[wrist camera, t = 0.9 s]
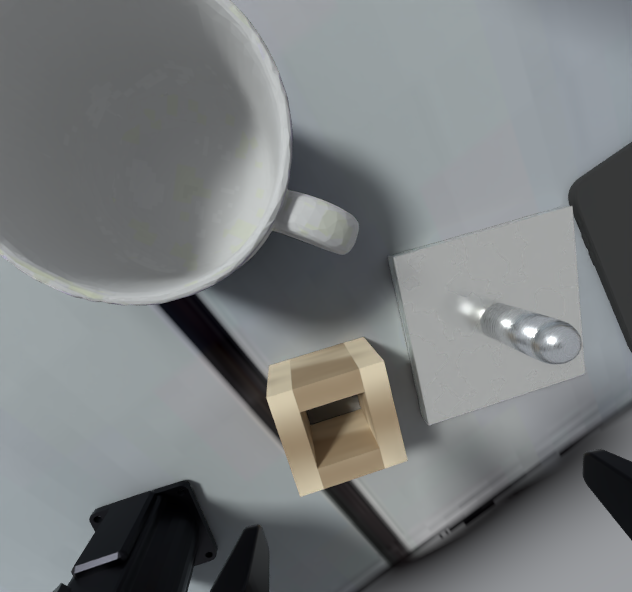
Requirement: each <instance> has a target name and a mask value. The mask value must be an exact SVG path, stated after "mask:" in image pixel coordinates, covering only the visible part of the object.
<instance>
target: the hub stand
mask: <svg viewBox="0 0 632 592" xmlns="http://www.w3.org/2000/svg"><path fill="white" fill-rule="evenodd" d="M388 262H389V266H390V271H391V276H392V280H393V285H394V290H395V294H396V299H397V303H398V308H399V313H400V317H401V322H402V326H403V331H404V336H405V340H406V345H407V350H408V354H409V359H410V363H411V368H412V373H413V377H414V382H415V387H416V391H417V396H418V400H419V405H420V410H421V414H422V418H423V419H424V420H425V421H426V423H427V424H428V425H432V424H435V423H438V422H441V421H444V420H447V419H450V418H453V417H456V416H459V415H462V414H466V413H469V412H472V411H475V410H478V409H481V408H484V407H487V406H490V405H493V404H496V403H499V402H502V401H505V400H508V399H511V398H514V397H517V396H520V395H523V394H526V393H529V392H532V391H535V390H538V389H541V388H544V387H547V386H550V385H553V384H557V383H560V382H563V381H566V380H569V379H572V378H575V377H578V376H581V375H584V374H585V367H584V353H583V340H582V327H581V313H580V300H579V287H578V274H577V260H576V247H575V234H574V220H573V207H572V206H566V207H557V208H554V209H551V210H547V211H544V212H540V213H537V214H533V215H530V216H526V217H523V218H519V219H516V220H512V221H509V222H505V223H502V224H499V225H495V226H492V227H488V228H485V229H481V230H478V231H474V232H471V233H467V234H464V235H460V236H457V237H454V238H450V239H447V240H443V241H440V242H436V243H433V244H429V245H426V246H422V247H419V248H415V249H412V250H408V251H405V252H402V253H398V254H395V255H391V256H388Z"/></svg>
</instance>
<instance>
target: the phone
mask: <svg viewBox="0 0 632 592" xmlns="http://www.w3.org/2000/svg"><path fill="white" fill-rule="evenodd" d="M568 200H569V205H570V206H572V207H573V215H574V217H575V220H576V222H577V225H578V227H579V229H580V232H581V234H582V238H583V240H584V243H585V245H586V247H587V249H588V251H589V255H590V258H591V260H592V263H593V264H594V265H595V268H596V270H597V273H598V275H599V277H600V280H601V282H602V285H603V287H604V289H605V292H606V294H607V297H608V299H609V301H610V304H611V306H612V309H613V311H614V314H615V316H616V318H617V321H618V323H619V326H620V328H621V330H622V333H623V335H624V338H625V340H626V342H627V345H628V347H629V349H630V351H631V352H632V142H631V143H630V144H628V145H627V146H625V147H624V148H622V149H621V150H619V151H618V152H616V153H615V154H614V155H612V156H611V157H609V158H608V159H606V160H605V161H603V162H602V163H600V164H599V165H598V166H596V167H595V168H593V169H592V170H590V171H589V172H587V173H586V174H584V175H583V176H582V177H580V178H579V179H578V180H576V181H575V182H574V184H573V185H572V186H571V188H570V190H569V195H568Z"/></svg>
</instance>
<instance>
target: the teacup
mask: <svg viewBox="0 0 632 592" xmlns="http://www.w3.org/2000/svg"><path fill="white" fill-rule="evenodd" d="M292 147H293V133H292V121H291V115H290V109H289V103H288V97H287V94H286V91H285V88H284V85H283V82H282V80H281V77H280V74H279V71H278V68H277V66H276V64H275V62H274V60H273V58H272V56H271V54H270V52H269V50H268V48H267V46H266V45H265V43H264V41H263V40H262V38H261V37H260V35H259V33H258V32H257V30H256V29H255V28H254V26H253V25H252V24H251V22H250V21H249V20H248V18H247V17H246V16H245V15H244V14H243V13H242V12H241V11H240V10H239V9H238V8H237V7H236V6H235V5H234V4H233V3H232V2H231V1H230V0H0V255H1V256H2V257H3V258H5V259H6V260H7V261H9V262H10V263H12V264H13V265H14V266H16V267H17V268H18V269H19V270H20V271H22V272H23V273H25V274H27V275H29V276H30V277H32V278H34V279H35V280H37V281H39V282H41V283H44V284H46V285H48V286H50V287H52V288H54V289H56V290H59V291H61V292H64V293H66V294H68V295H71V296H73V297H77V298H84V299H87V300H90V301H92V302H106V303H109V304H118V305H154V304H161V303H166V302H169V301H173V300H177V299H180V298H184V297H187V296H190V295H193V294H196V293H198V292H201V291H203V290H205V289H207V288H209V287H211V286H213V285H215V284H217V283H218V282H220V281H222V280H223V279H225V278H226V277H228V276H229V275H231V274H232V273H233V272H234V271H235V270H237V269H238V268H240V267H241V266H242V265H243V264H245V263H246V262H247V261H248V260H250V259H251V258H252V257H253V256H254V255H255V254H256V252H257V251H258V250H259V249H260V248H261V247H262V245H263V244H264V243H265V241H266V240H267V238H268V237H269V235H270V233H271V232H272V231H275V232H279V233H282V234H285V235H288V236H290V237H293V238H296V239H298V240H301V241H304V242H306V243H309V244H311V245H314V246H316V247H319V248H322V249H324V250H327V251H330V252H333V253H337V254H340V255H344V254H346V253H348V252H350V250H351V249H352V248H353V246H354V245H355V242H356V239H357V236H358V232H359V224H358V221H357V220H356V218H355V217H354V216H353V215H352V214H350V213H348V212H346V211H345V210H343V209H342V208H340V207H338V206H336V205H333V204H331V203H329V202H327V201H325V200H322V199H319V198H316V197H313V196H310V195H307V194H303V193H300V192H295V191H291V190H289V189H287V187H288V183H289V178H290V170H291V162H292Z"/></svg>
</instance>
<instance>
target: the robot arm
mask: <svg viewBox="0 0 632 592" xmlns="http://www.w3.org/2000/svg"><path fill="white" fill-rule="evenodd" d="M583 478H584V480H585V482H586V484H587V485H588V487H589V488H590V489H591V491H593V493H594V494H595V495H596V497H597V498H598V499H599V500H600V502H601V503H602V504H603V505H604V507H605V508H606V509H607V510H608V511H609V513H610V514H611V515H612V517H613V518H614V519H615V520H616V521H617V523H618V524H619V525H620V526H621V528H622V529H623V530H624V531H625V533H626V534H627V535H628V536H629V538H630V539H631V540H632V462H631V461H629V460H626V459H624V458H622V457H619V456H617V455H615V454H612V453H610V452H607V451H605V450H601V449H596V450H592V451H587V452H585V453H584V455H583ZM180 489H183V490H184V491H182V490H180ZM89 520H90V523H91V525H92V527H93V529H94V530H95V533H94V535H93V537H92V538H91V540H90V541H89V543H88V544H87V546H86V548H85V549H84V551H83V552H82V554H81V556H80V557H79V559H78V560H77V562H76V564H75V565H74V567H73V569H72V571H71V573H72V575H73V578H72V579H71V581H70V582H69V584H68V586H66V585H64V584H62V583H61V584H60V585H59V586H58V587H57V588H56V589H55V590H54V591H53V592H187V591H188V587H189V583H190V579H191V576H192V572H193V568H194V566H196V565H199V564H202V563H205V562H208V561H211V560H213V559H214V558H215V557H216V554H217V549H218V548H217V545H216V543H215V541H214V538H213V536H212V534H211V531H210V529H209V527H208V525H207V522H206V520H205V518H204V515H203V513H202V511H201V509H200V506H199V504H198V502H197V500H196V497H195V495H194V493H193V490H192V488H191V486H190V484H189V483H188V482H186V481H180V482H177V483H174V484H171V485H168V486H165V487H162V488H159V489H155V490H152V491H148V492H145V493H142V494H139V495H136V496H133V497H130V498H127V499H124V500H121V501H118V502H115V503H112V504H109V505H106V506H103V507H100V508H97V509H95V511H94V512H93V513H92V515H91V516H90V519H89ZM210 592H269V548H268V544H267V541H266V538H265V535H264V532H263V529H262V527H261V526H260V525H258V524H257V525H253V526H248V527H246V528H245V529H244V530H243V532H242V534H241V536H240V538H239V539H238V541H237V543H236V545H235V547H234V549H233V550H232V552H231V554H230V556H229V558H228V559H227V561H226V563H225V565H224V567H223V569H222V570H221V572H220V574H219V576H218V578H217V579H216V581H215V583H214V585H213V587H212V589H211V590H210Z"/></svg>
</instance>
